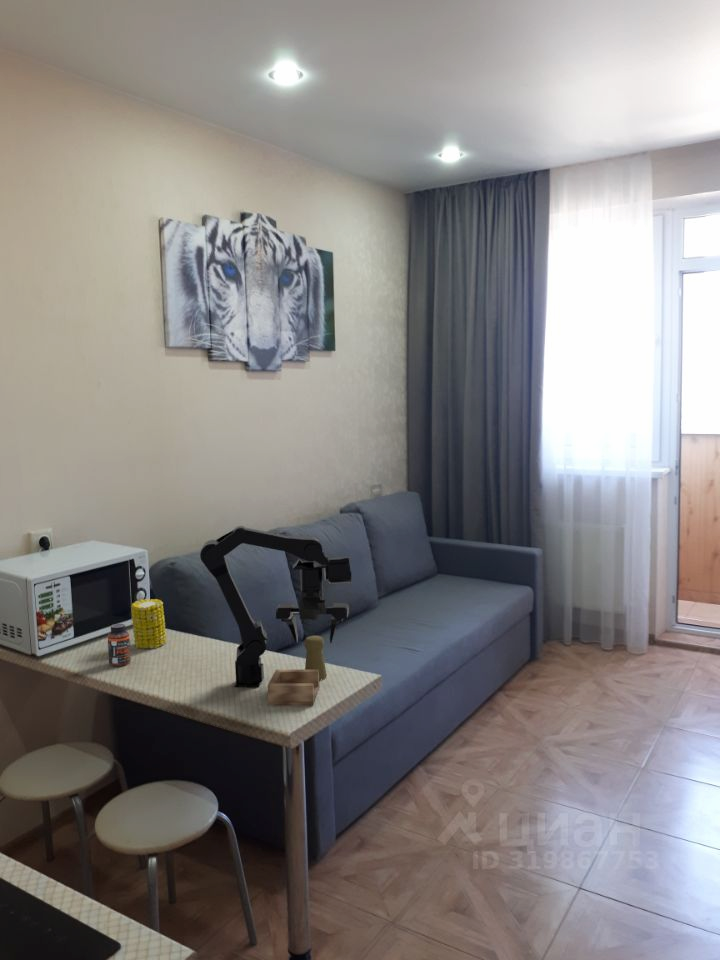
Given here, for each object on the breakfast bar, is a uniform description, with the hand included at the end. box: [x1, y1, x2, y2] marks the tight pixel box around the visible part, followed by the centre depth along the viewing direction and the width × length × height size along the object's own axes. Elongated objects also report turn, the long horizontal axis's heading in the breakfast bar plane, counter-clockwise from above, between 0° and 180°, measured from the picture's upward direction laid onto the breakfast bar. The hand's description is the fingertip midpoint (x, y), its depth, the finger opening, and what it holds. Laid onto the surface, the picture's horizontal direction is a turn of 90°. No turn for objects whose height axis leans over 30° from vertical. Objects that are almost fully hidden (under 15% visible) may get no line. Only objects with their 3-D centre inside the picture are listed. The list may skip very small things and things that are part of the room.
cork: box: [303, 635, 328, 681], centre depth 198 cm, size 6×6×11 cm
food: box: [130, 598, 167, 649], centre depth 229 cm, size 15×12×10 cm
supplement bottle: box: [107, 623, 132, 667], centre depth 213 cm, size 6×6×11 cm
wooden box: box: [267, 669, 321, 707], centre depth 185 cm, size 11×12×5 cm
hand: (313, 642), depth 197 cm, fingers open, 9 cm apart
